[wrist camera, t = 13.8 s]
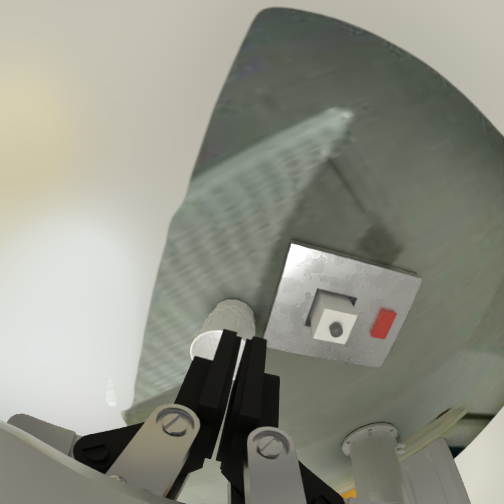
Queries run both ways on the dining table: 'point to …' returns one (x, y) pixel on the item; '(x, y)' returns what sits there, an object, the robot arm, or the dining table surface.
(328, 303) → the plug
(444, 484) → the paper bag
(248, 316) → the white cup
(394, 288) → the socket plate
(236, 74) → the dining table surface
